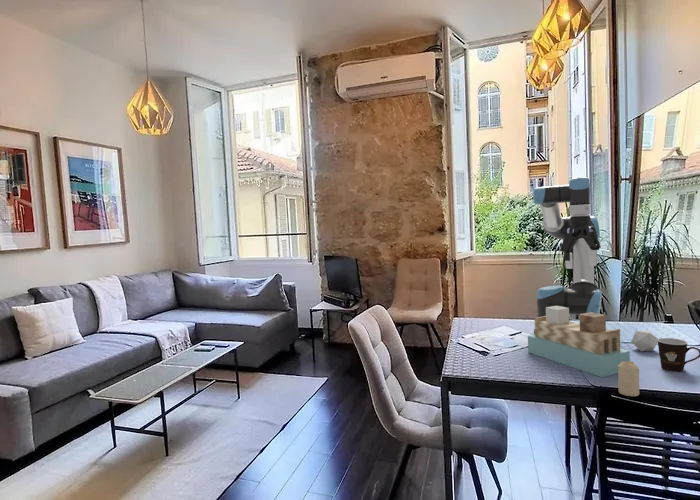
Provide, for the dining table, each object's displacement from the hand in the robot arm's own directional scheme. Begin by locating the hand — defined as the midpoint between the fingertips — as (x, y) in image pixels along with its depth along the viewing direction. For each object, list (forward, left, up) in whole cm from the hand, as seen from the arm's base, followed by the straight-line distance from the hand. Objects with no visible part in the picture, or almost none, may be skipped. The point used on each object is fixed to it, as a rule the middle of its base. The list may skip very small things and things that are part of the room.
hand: (581, 267), depth 179 cm
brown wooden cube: (+16, -14, -21) cm, 30 cm away
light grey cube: (0, -14, -21) cm, 25 cm away
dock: (+8, -14, -35) cm, 38 cm away
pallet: (+8, -14, -28) cm, 32 cm away
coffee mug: (+33, +6, -35) cm, 48 cm away
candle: (+38, -26, -35) cm, 58 cm away
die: (+13, +19, -35) cm, 42 cm away
